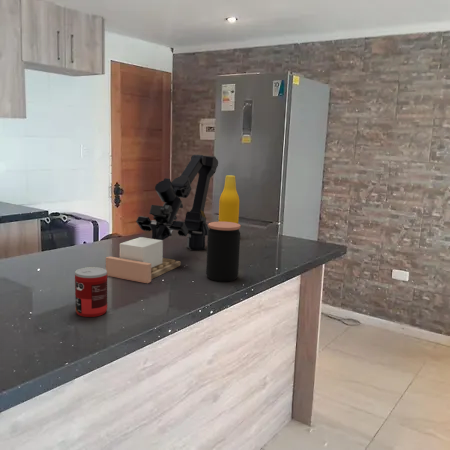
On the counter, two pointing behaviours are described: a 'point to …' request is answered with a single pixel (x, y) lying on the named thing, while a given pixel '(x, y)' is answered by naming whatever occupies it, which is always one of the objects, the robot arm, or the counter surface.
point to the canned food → (91, 291)
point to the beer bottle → (229, 202)
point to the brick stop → (128, 269)
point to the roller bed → (164, 267)
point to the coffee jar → (223, 251)
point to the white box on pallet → (143, 250)
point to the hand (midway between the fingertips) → (152, 245)
